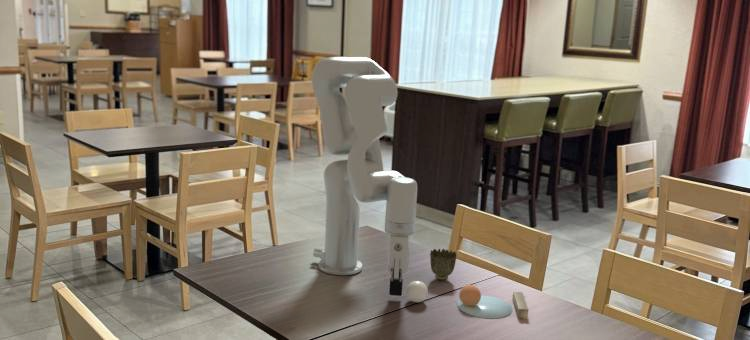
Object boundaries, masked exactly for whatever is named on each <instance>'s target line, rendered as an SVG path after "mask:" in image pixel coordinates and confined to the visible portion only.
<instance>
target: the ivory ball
mask: <svg viewBox="0 0 750 340" xmlns="http://www.w3.org/2000/svg"><path fill="white" fill-rule="evenodd" d="M428 293H429V292H428V287H427V285H426V284H425V283H424V282H423V281H420V280H414V281H411V282H410V283H409V284H408V285H407V288H406V296H407V299H409V301H411V302H413V303H421V302H424V300H426V299H427V297H428Z"/></svg>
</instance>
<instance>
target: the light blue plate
mask: <svg viewBox="0 0 750 340" xmlns="http://www.w3.org/2000/svg"><path fill="white" fill-rule="evenodd" d="M456 304H457V308H458V309H459V310H460V311H462V312H463V313H465V314H467V315H470V316H473V317H477V318H481V319H482V318H483V319H492V320H493V319H503V318H505V317H509V315H511V314H512V312H513V308H512V305H511V304H510V303H509V302H507V301H505V300H504V299H501V298H498V297H494V296H490V295H482V294H481V299H480V301H479V303H478V304H477V305H475V306H466V305H464V304H463V303H462V302H461V300H460V298H459V299H458V300H457V302H456Z"/></svg>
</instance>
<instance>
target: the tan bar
mask: <svg viewBox="0 0 750 340" xmlns="http://www.w3.org/2000/svg"><path fill="white" fill-rule="evenodd" d="M512 303H513V308H514V310H515V313H516V316H517V317H518V318H517V319H521V318H525V319H524V320H528V318H529V316H528V315H529V307H528V304H527V302H526V299H525V296H524V293H523V291H521V292H520V291H513V292H512Z"/></svg>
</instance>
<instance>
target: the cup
mask: <svg viewBox="0 0 750 340" xmlns="http://www.w3.org/2000/svg"><path fill="white" fill-rule="evenodd" d="M429 256H430V270H431V272H432V273H433V274H434V278H435V280H436V281H439V282H446V281H447V280H449V276H450V275H452V274H453V272H454V270H455V266H456V263H457V262H456V261H457V252H456V251H453V250H452V249H451V250H450V251H449V249H448V248H446V249H445V248H443V249H440V248H438V249H436V248H433V249H432V250H430V253H429Z"/></svg>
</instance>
